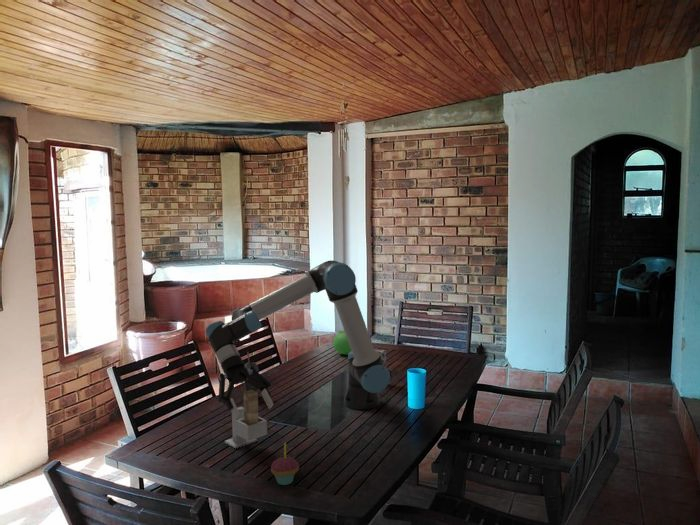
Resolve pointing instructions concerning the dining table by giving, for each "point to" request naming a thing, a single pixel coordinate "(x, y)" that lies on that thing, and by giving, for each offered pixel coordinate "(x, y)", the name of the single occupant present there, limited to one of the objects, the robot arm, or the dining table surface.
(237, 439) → the bracket
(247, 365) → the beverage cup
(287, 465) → the cupcake
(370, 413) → the dining table surface
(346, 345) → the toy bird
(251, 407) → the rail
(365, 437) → the dining table surface
